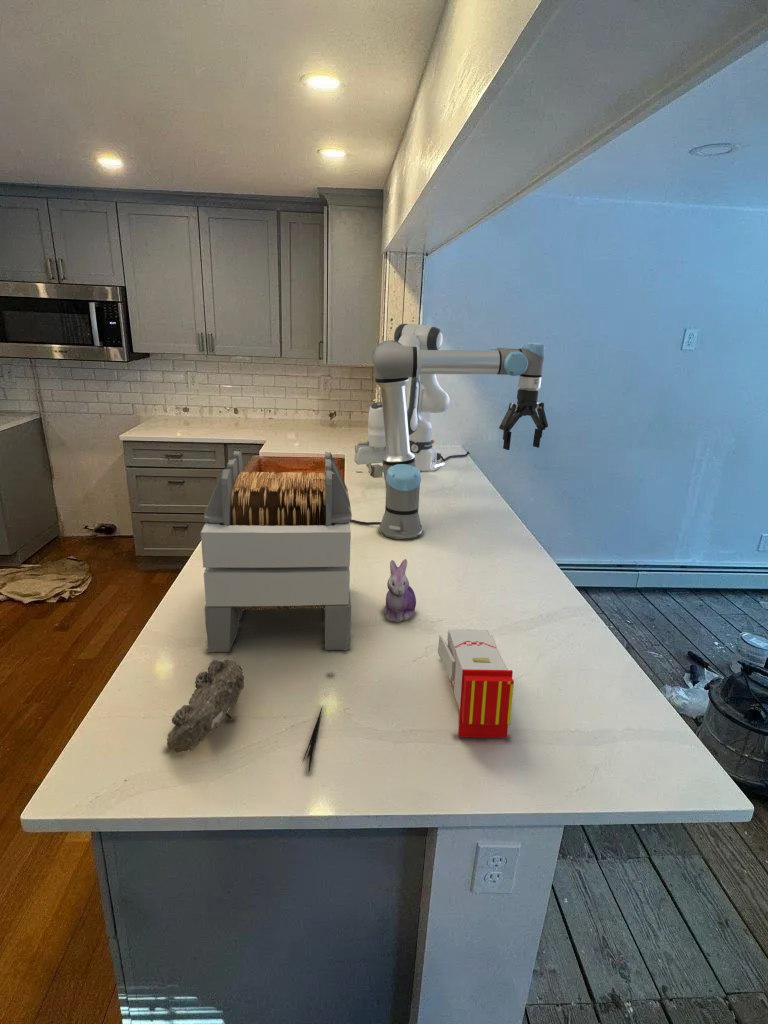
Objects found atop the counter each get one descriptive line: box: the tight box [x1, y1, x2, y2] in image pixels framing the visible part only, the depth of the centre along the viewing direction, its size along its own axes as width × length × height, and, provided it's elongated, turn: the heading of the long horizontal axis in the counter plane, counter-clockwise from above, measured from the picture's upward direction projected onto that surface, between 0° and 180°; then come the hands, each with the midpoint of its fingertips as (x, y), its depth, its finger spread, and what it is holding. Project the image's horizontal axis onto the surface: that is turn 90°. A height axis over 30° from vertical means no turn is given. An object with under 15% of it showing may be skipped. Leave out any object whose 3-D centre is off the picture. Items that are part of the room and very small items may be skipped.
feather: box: [301, 673, 332, 771], centre depth 108 cm, size 2×28×2 cm
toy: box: [437, 628, 515, 738], centre depth 117 cm, size 12×13×30 cm
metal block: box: [369, 463, 384, 479], centre depth 246 cm, size 4×4×5 cm
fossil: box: [166, 658, 245, 754], centre depth 106 cm, size 22×10×15 cm
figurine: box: [384, 558, 417, 623], centre depth 145 cm, size 9×10×15 cm
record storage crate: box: [200, 450, 353, 653], centre depth 138 cm, size 34×33×41 cm
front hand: (521, 448), depth 206 cm, fingers open, 13 cm apart
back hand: (376, 472), depth 246 cm, fingers closed on metal block, 4 cm apart
